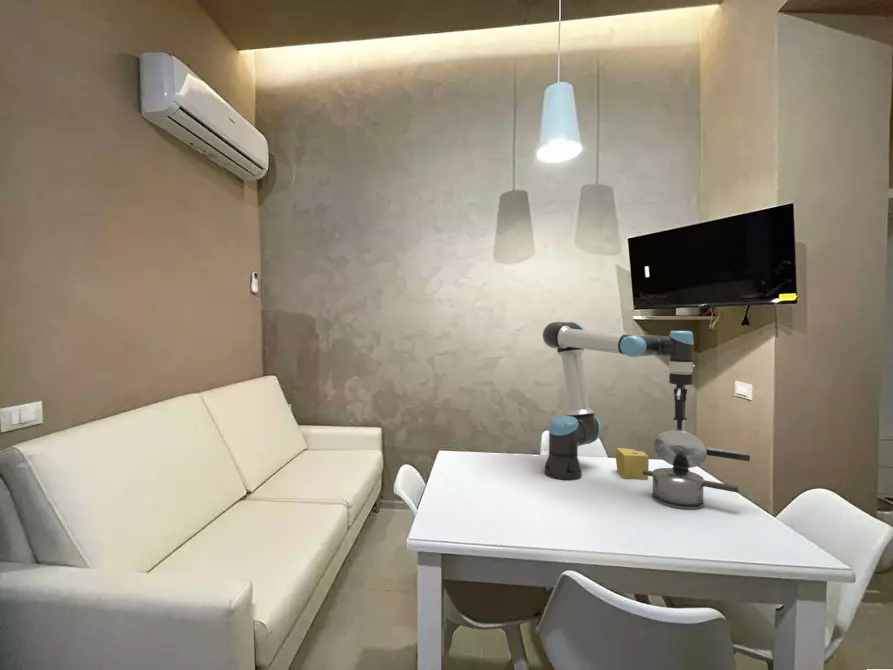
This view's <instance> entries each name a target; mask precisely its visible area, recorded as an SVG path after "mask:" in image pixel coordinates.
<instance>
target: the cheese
mask: <svg viewBox="0 0 893 670" xmlns="http://www.w3.org/2000/svg"><path fill="white" fill-rule="evenodd" d="M649 460H650V459H649V455H648V454H647V453H646V452H644V451H642V450H641V451H639V450H635V449H632V448H623V447H617V448H616V452H615V463H616V470H617V473H618V474H619V475H620V476H621V477H623V479H626V480H627V479H629V480H630V479H633V480H649V476H647V475H643V470H648V471H649V464H650V463H649V462H650V461H649Z"/></svg>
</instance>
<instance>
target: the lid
mask: <svg viewBox="0 0 893 670" xmlns="http://www.w3.org/2000/svg"><path fill="white" fill-rule="evenodd" d="M653 444H654V445H653V446H654V450H655V452H656V454H657V455H658V456H659V457H660V459H662V460H663V461H664V462H665V463H667V464H669V465H672V468H678V469H684V470H690V469H691V468H695V467H698V466H701V465H702V464H703V463H704V462H705V461H706V459H707V457H708V456H711V457H717V458H718V457H719V458H724V459H731V460H735V461H736V460H738V461H745V462H750V458H751V453H750V452H747V451H738V450H731V449H725V448H717V447H710V446H706V445H705V443H704V442H703V441H702V440H701V439H700V438H699V437H698V436H696V435H695V434H692V433H691V432H688V431H685V430H684V431H682V430H675V429H669V430H665V431H662V432H660V433H659V434H658V435H657V436H656V438H655V440H654V443H653Z"/></svg>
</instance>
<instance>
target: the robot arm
mask: <svg viewBox="0 0 893 670" xmlns="http://www.w3.org/2000/svg"><path fill="white" fill-rule="evenodd" d="M542 339H543V341H544V343H545V344H546V346H548V347H550V348H552V349H556V351H557V354H558V355H559V356H560V357H561V361H562V368H563V369H562V370H563V375H564V382H565V388H566V396H567V401H568V409H569V410H568V411H567V413H566V415H563V416H561V415H560V416H555V417H553V418H551V420H550V421H549V425H548V426H549V427H548V456H547V458H546V461H545V463H544V464H545V465H544V467H543V468H544V474H545V475H546V476H548V477H549V478H553V479H557V480H562V481H563V480H564V481H565V480H566V481H573V480H579V479H580V478H582V476H583V475H582V474H583V471H582V467H581V463H580V459H579V457H578V456H579V455H578V449H579V448H578V447H580V446H583V445H590V444H592V443H594V442H596V441H597V440H598V439H599V438H600V436H601V434H602V425H601V422H600V420H599V419H598V418H597V417H596V416H595V413H594V411H593V410H592V409H591V408H590V403H589V396H588V390H587V383H586V382H587V381H586V376H585V369H584V364H583V356H582V354H583V352H584V351H585V350H591V351H598V352H599V351H600V352H605V353H613V354H619V355H624V356H627V357H631V358H632V357H633V358H636V357H647V356H648V357H649V356H652V357H653V356H656V357H657V356H660V357H661V356H662V357H669V361H668V363H669V365H668V367H669V368H668V371H669V372H670V373H669V377H668V383H670V384H672V385H675V388H673V396H674V398H673V399H674V417H673V420H674V421H675V428H674V430H682V431H685V421H687V417H686V400H687V393H688V389H687V388H686V386H691V385H693V382H694V381H693V378H694V375H693V374H692V373H693V371H694V370H693V368H695V367H696V365H695V364H693V361H694V344H695V342H694V334H693V331H690V330H671V331H670V333H669V335H652V334H651V335H650V334H648V335H647V334H646V335H635V334H634V335H633V334H624V333H614V332H605V331H597V330H588V329H587V330H586V329H585V328H584V326H583V325H581V324H579V323H577V322H573V321H569V322H567V321H565V322H564V321H563V322H562V321H561V322H560V321H554V322H550V323H549V324H547V325H546V326H545V327H544V329H543V331H542Z"/></svg>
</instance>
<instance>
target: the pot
mask: <svg viewBox="0 0 893 670" xmlns="http://www.w3.org/2000/svg"><path fill="white" fill-rule="evenodd" d="M643 475H647V476H648V477H652V493H651V498H652V499H653V500H654V501H655V502H657V503H659V504H660V505H663V506H666V507H669V508H672V509H678V510H686V511H687V510H688V511H689V510H690V511H692V510H693V511H695V510H700V509H702V508H704V506H705V504H704V503H705V500H704V488H705V487H706V488H710V489H715V490H720V491H727V492H730V493H731V492H733V493H737V494H738V493H739V486H738V485H733V484H727V483H723V482H722V483H721V482H717V481H711V480H706V479H704V477H703V476H702V475H700V474H697V473H696V472H693V471H691V470H690V469H689V470H684V469H678V468H673V467H660V468H656V469H654V470H649V469H648V470H643Z"/></svg>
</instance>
